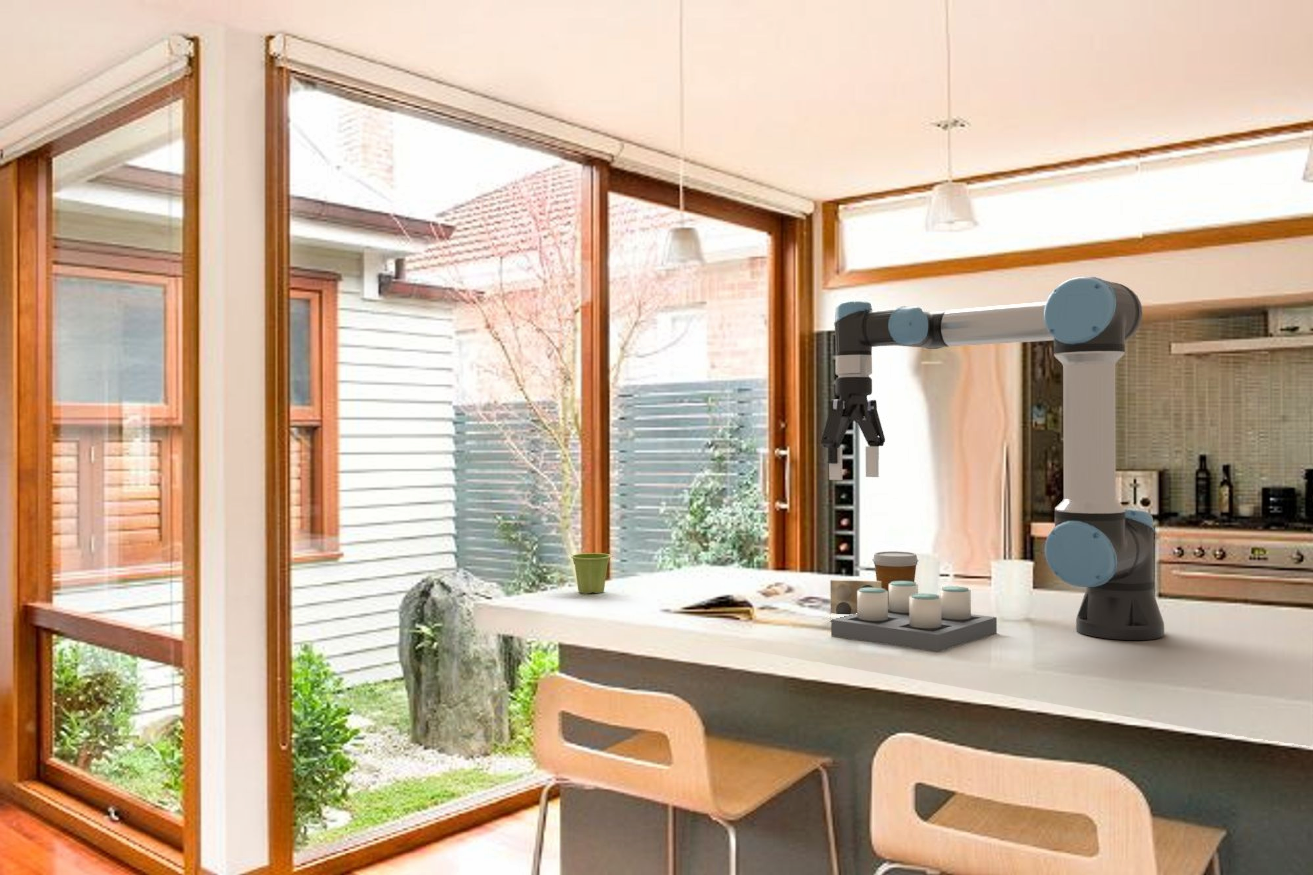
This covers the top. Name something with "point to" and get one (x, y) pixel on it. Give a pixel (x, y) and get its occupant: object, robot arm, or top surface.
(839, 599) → the card
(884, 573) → the disposable coffee cup
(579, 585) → the plant pot
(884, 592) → the button
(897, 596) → the button
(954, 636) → the board
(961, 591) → the button
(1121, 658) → the top surface
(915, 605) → the button
